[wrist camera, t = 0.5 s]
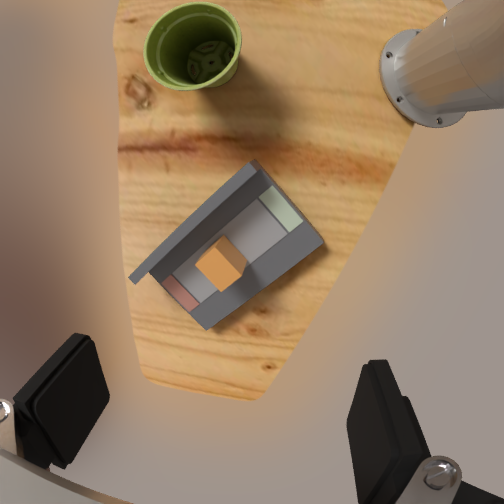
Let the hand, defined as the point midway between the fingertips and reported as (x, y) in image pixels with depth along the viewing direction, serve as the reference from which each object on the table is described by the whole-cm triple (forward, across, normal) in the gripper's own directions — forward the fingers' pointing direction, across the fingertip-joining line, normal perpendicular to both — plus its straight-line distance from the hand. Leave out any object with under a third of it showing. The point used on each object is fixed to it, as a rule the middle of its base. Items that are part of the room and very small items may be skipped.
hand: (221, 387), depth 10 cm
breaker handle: (+27, +4, +5) cm, 27 cm away
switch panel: (+29, +4, +5) cm, 30 cm away
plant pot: (+29, +6, -18) cm, 34 cm away
